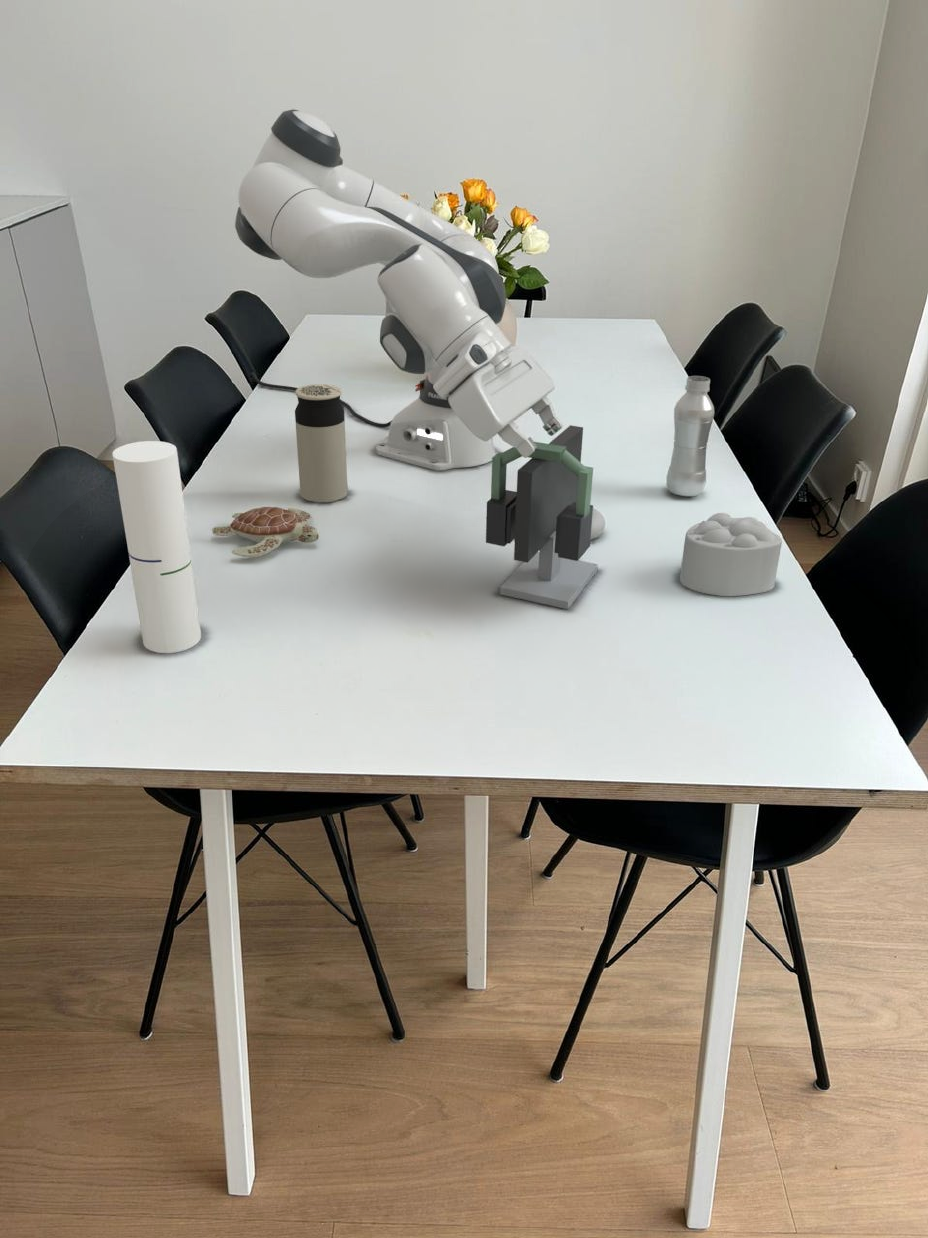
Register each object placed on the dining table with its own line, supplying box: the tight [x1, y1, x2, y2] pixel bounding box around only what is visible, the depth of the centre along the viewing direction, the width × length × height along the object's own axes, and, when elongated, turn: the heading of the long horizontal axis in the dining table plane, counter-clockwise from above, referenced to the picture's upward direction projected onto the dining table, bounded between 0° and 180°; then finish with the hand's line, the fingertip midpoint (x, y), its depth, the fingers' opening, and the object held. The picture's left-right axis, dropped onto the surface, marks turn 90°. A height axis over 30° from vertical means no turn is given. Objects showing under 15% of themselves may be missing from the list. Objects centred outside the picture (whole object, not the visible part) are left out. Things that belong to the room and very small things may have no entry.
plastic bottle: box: [665, 375, 715, 497], centre depth 170 cm, size 6×7×20 cm
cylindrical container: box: [111, 440, 202, 654], centre depth 123 cm, size 7×7×25 cm
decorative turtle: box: [211, 506, 320, 558], centre depth 155 cm, size 18×17×5 cm
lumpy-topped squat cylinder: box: [679, 512, 783, 597], centre depth 144 cm, size 10×13×9 cm
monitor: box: [499, 424, 599, 610], centre depth 139 cm, size 10×20×20 cm, turn 156°
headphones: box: [485, 441, 594, 561], centre depth 134 cm, size 13×5×14 cm, turn 66°
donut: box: [590, 507, 606, 541], centre depth 159 cm, size 10×4×10 cm
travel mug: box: [294, 383, 349, 504], centre depth 167 cm, size 8×8×18 cm
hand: (545, 442), depth 131 cm, fingers open, 8 cm apart
